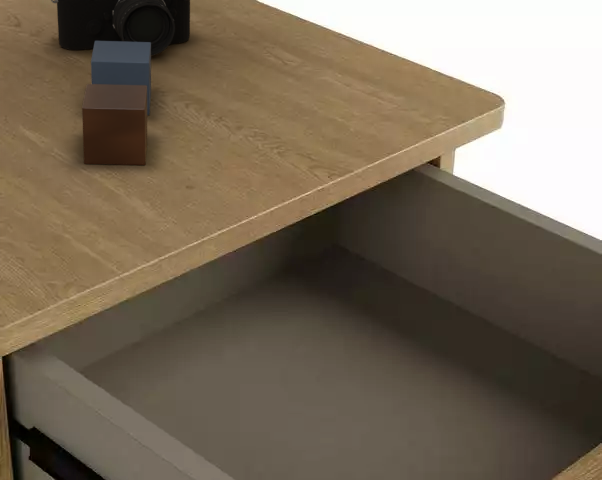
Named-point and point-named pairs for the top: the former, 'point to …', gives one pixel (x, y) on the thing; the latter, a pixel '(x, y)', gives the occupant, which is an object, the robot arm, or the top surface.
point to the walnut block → (115, 124)
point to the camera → (122, 22)
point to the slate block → (122, 64)
